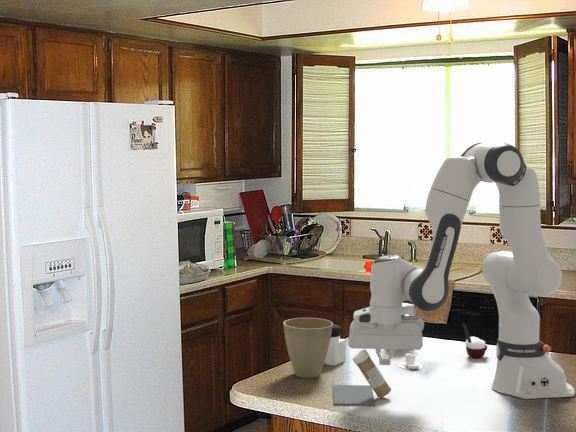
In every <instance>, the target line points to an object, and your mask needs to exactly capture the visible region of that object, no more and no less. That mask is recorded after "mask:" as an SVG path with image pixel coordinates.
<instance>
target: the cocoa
mask: <svg viewBox="0 0 576 432" xmlns="http://www.w3.org/2000/svg"><path fill="white" fill-rule="evenodd" d="M461 323H462V328H463V330H464V334H465V337H466V340H465V345H466V346H465V348H466V349H465V350H466V353H467V355H468V356H469V357H470V358H472V359H479V360H480V359H481V358H483V357H484V356H485V354H486V352H487V350H488V345H487V344H486V341H485V340H483V339H480V337H476V336H470V333H469V330H468V327H467V324H466V323H465V322H461Z"/></svg>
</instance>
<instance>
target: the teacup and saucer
mask: <svg viewBox="0 0 576 432" xmlns="http://www.w3.org/2000/svg"><path fill="white" fill-rule="evenodd" d="M404 355H405V356H404V357H405V361H403V362H400V363H398V364H397V366H398V367H399V368H401V369H405V370H417V369H418V370H420V369H422V368H424V364H421V363H419V362H416V354H415V353H411V352H407V353H405V354H404ZM402 365H405V366H406V367H404V366H402Z"/></svg>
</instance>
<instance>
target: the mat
mask: <svg viewBox="0 0 576 432" xmlns="http://www.w3.org/2000/svg"><path fill="white" fill-rule="evenodd" d="M332 390H333V393H332V394H333V395H332V396H333V406H355V407H356V406H357V405H365V406H366V405H368V406H369V407H372V406H373V407H374V406H376V402H375V396H374V390H373V389H372V388H371V386H370V384H369V385H365V384H363V385H362V384H361V385H360V384H359V385H358V384H356V385H354V384H333V385H332ZM368 406H366V407H368Z"/></svg>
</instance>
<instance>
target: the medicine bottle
mask: <svg viewBox="0 0 576 432" xmlns="http://www.w3.org/2000/svg"><path fill="white" fill-rule="evenodd" d="M343 362H346V339H345V338H341V326H340V325H338V324H335V323H333V327H332V333H331V338H330V343H329V348H328V351H327V355H326V358H325V361H324V364H323V365H328V366H334V367H335V366H337V365H339V364H342V363H343Z"/></svg>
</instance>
